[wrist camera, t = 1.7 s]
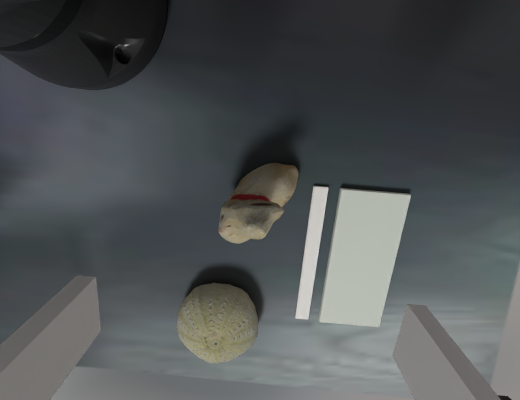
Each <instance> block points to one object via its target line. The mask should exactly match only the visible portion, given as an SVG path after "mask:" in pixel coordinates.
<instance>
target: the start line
mask: <svg viewBox="0 0 520 400" xmlns="http://www.w3.org/2000/svg"><path fill="white" fill-rule="evenodd" d="M327 194H328V187H323V186H313V191H312V199H311V206H310V213H309V220H308V228H307V235H306V242H305V249H304V256H303V264H302V271H301V278H300V285H299V293H298V300H297V307H296V314H295V318H297V319H308V317H309V311H310V304H311V298H312V291H313V285H314V278H315V272H316V265H317V259H318V253H319V246H320V240H321V233H322V227H323V220H324V214H325V207H326V201H327Z"/></svg>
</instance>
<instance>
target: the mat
mask: <svg viewBox="0 0 520 400" xmlns="http://www.w3.org/2000/svg"><path fill="white" fill-rule="evenodd" d="M410 197H411V195H410V194H407V193H395V192H383V191H371V190H359V189H347V188H340V192H339V198H338V204H337V210H336V216H335V222H334V228H333V234H332V240H331V246H330V252H329V258H328V264H327V270H326V276H325V282H324V288H323V294H322V300H321V306H320V312H319V318H318V319H319V322H325V323H337V324H350V325H362V326H375V327H379V325H380V321H381V317H382V313H383V309H384V305H385V300H386V296H387V292H388V288H389V284H390V280H391V276H392V272H393V267H394V263H395V259H396V255H397V251H398V247H399V243H400V239H401V234H402V230H403V226H404V222H405V218H406V214H407V210H408V206H409V201H410Z"/></svg>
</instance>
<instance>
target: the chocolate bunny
mask: <svg viewBox="0 0 520 400" xmlns="http://www.w3.org/2000/svg"><path fill="white" fill-rule="evenodd" d="M297 179H298V169H297V168H296V166H294V165H283V164H280V163H269V164H266V165H263V166H261V167H259V168H257V169H255V170H253V171H252V172H250V173H249V174H247V175H246V176H245V177H243V178H242V180H241V181H240V182H239V184H238V186H237V187H236V188H235V191H234V192H233V193H232V194H231V195H230V197H229V199H228V201H227V202H225V203H224V204H223V206H222V209H221V215H220V221H219V234H220V235H221V236H222V237H223V238H224V239H226V240H227V241H230V242H232V243H242V242H245V241H247V240H249V239H251V238H252V239H262V238H264V237H265V236H266V235H267V233H268V231H269V230H270V228H271V226H272V224H273V222H274V221H276V220H277V219H279V218H280V217H281V215H282V214H283V212H284V209H283V208H282V207H283V206H284V205H285V204H286V203H287V201H288V200H289V199H290V198H291V196H292V195H293V193H294V191H295V188H296V184H297Z"/></svg>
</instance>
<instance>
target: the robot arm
mask: <svg viewBox="0 0 520 400" xmlns="http://www.w3.org/2000/svg"><path fill="white" fill-rule="evenodd" d="M166 14H167V0H0V54H1V55H3V56H4V57H6V58H8V59H9V60H11V61H12V62H14V63H16V64H17V65H19V66H20V67H22V68H24V69H25V70H27V71H28V72H30V73H32V74H33V75H35V76H37V77H39V78H41V79H44V80H46V81H48V82H51V83H54V84H57V85H61V86H65V87H70V88H78V89H87V90H101V89H107V88H112V87H115V86H118V85H121V84H123V83H125V82H127V81H129V80H130V79H132V78H133V77H135V76H136V75H137V74H138V73H140V72H141V71H142V70H143V69H144V68H145V67H146V65H147V64H148V63H149V62H150V60H151V59H152V57H153V56H154V54H155V52H156V50H157V48H158V46H159V44H160V41H161V39H162V35H163V32H164V28H165V22H166ZM100 331H101V326H100V315H99V305H98V294H97V284H96V277H90V276H79V275H77V276H76V277H75V278H74V279H73V280H72V281H71V282H70V283H68V284H67V285H66V286H65V287H64V288H63V289H62V290H61V291H60V292H58V293H57V294H56V295H55V296H54V297H53V298H52V299H51V300H50V301H48V302H47V303H46V304H45V305H44V306H43V307H42V308H41V309H40V310H38V311H37V312H36V313H35V314H34V315H33V316H32V317H31V318H30V319H28V320H27V321H26V322H25V323H24V324H23V325H22V326H21V327H20V328H18V329H17V330H16V331H15V332H14V333H13V334H12V335H11V336H10V337H8V338H7V339H6V340H5V341H4V342H3V343H2V344H1V345H0V400H50V399H51V398H52V397H53V395H54V394H55V392H56V391H57V390H58V389H59V387H60V386H61V384H62V383H63V382H64V380H65V379H66V378H67V376H68V375H69V374H70V372H71V371H72V369H73V368H74V367H75V365H76V364H77V363H78V361H79V360H80V359H81V357H82V356H83V354H84V353H85V352H86V350H87V349H88V348H89V346H90V345H91V344H92V342H93V341H94V339H95V338H96V337H97V335H98V334H99V333H100ZM393 357H394V359H395V361H396V363H397V365H398V367H399V369H400V371H401V373H402V375H403V377H404V379H405V381H406V383H407V385H408V387H409V389H410V391H411V393H412V395H413V396H414V398H415V400H511V399H510V398H509V397H508V396H499V395H497V394H496V393H495V392H494V391H493V389H492V388H491V387H490V386H489V384H488V383H487V382H486V381H485V379H484V378H483V377H482V376H481V374H480V373H479V372H478V371H477V369H476V368H475V367H474V366H473V364H472V363H471V362H470V361H469V359H468V358H467V357H466V356H465V354H464V353H463V352H462V351H461V349H460V348H459V347H458V346H457V344H456V343H455V342H454V341H453V339H452V338H451V337H450V336H449V335H448V333H447V332H446V331H445V330H444V328H443V327H442V326H441V325H440V323H439V322H438V321H437V320H436V318H435V317H434V316H433V315H432V313H431V312H430V311H429V310H428V308H427V307H426V306H421V305H410V304H408V305H407V308H406V311H405V315H404V318H403V322H402V325H401V329H400V332H399V335H398V339H397V342H396V346H395V349H394V353H393Z"/></svg>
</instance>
